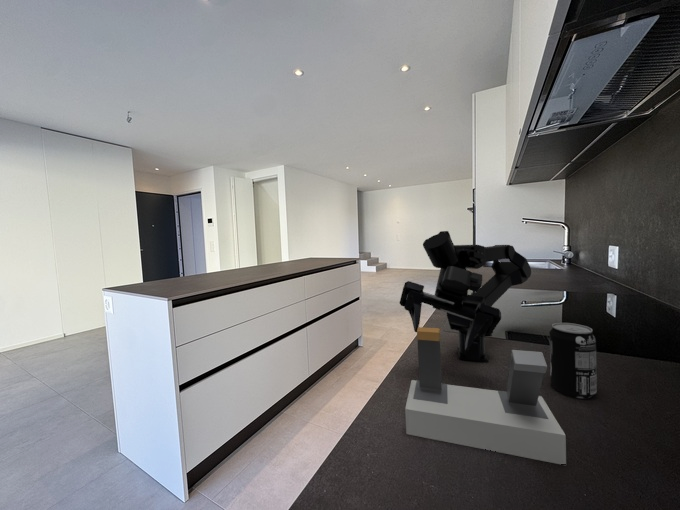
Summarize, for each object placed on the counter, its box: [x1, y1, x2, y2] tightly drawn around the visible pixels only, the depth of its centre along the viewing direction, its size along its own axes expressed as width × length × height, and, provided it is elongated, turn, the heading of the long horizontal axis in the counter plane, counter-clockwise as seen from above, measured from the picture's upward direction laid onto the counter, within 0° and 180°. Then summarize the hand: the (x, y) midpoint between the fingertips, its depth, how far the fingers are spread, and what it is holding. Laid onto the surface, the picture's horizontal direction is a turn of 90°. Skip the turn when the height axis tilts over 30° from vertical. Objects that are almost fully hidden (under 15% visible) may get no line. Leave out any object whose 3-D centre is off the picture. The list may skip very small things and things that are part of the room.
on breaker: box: [506, 349, 548, 406], centre depth 39 cm, size 2×4×10 cm, turn 70°
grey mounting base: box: [404, 379, 567, 465], centre depth 42 cm, size 9×20×4 cm, turn 69°
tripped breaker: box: [416, 326, 443, 390], centre depth 46 cm, size 2×4×10 cm, turn 69°
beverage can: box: [548, 322, 598, 399], centre depth 51 cm, size 7×7×12 cm
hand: (440, 339), depth 50 cm, fingers open, 9 cm apart
